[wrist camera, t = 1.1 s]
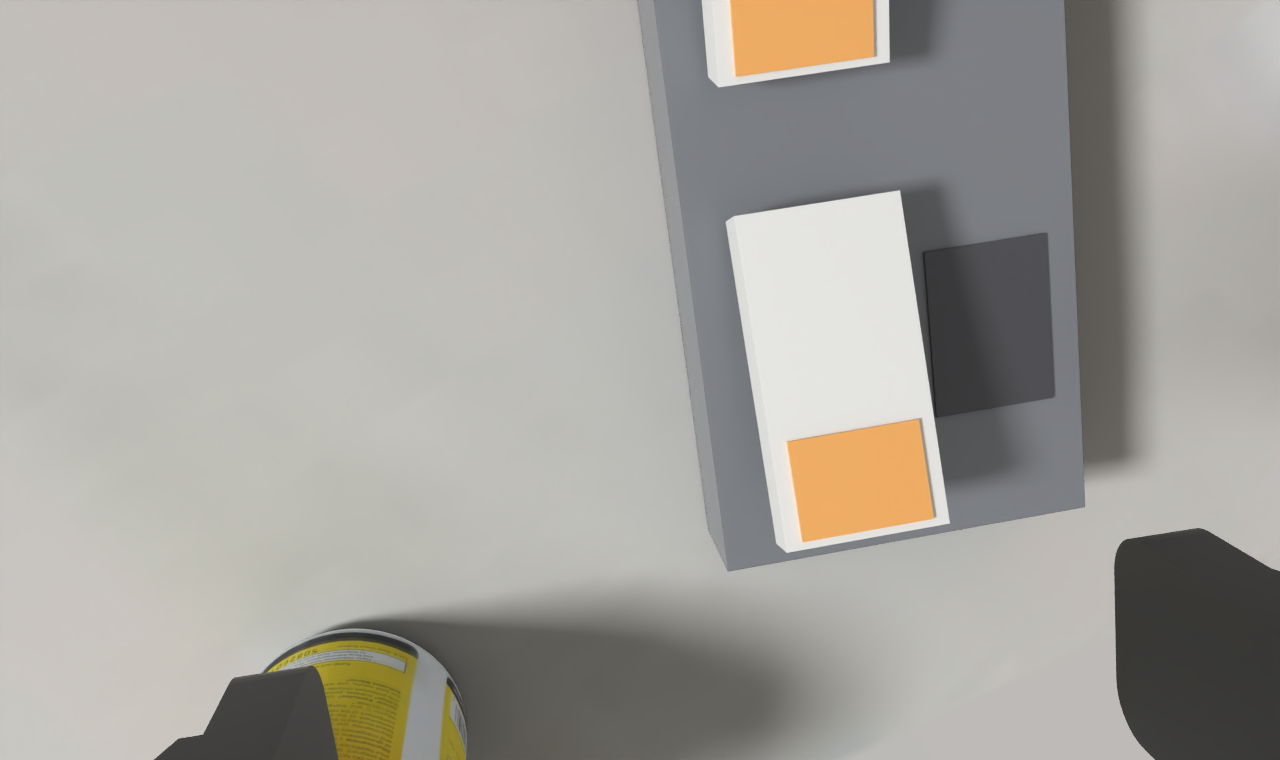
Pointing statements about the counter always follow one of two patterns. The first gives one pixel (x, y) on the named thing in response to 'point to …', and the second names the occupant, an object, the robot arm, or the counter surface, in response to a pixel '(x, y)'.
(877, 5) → the block
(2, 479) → the counter surface
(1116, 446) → the counter surface
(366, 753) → the pill bottle
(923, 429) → the rocker outer
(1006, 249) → the power strip
